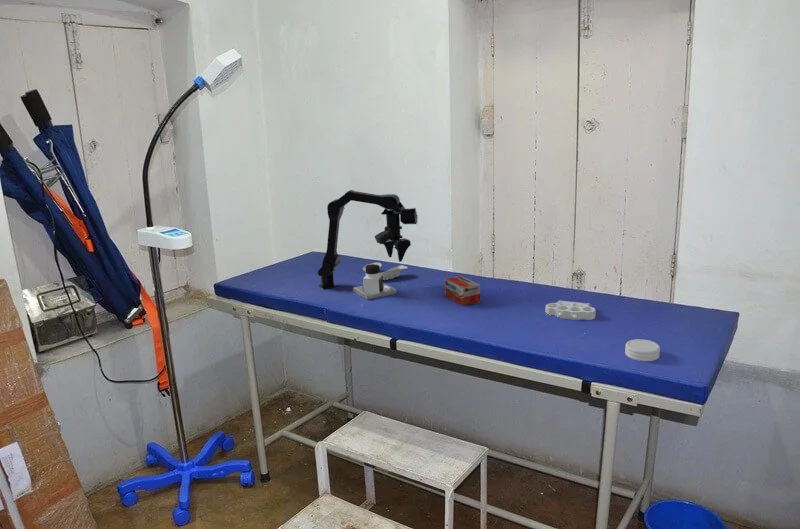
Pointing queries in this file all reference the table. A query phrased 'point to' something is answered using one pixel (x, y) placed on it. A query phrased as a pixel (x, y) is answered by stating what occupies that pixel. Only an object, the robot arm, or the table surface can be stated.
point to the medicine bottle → (373, 279)
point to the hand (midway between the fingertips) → (395, 259)
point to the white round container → (642, 350)
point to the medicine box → (462, 290)
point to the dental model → (389, 271)
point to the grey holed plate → (571, 310)
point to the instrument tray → (385, 292)
